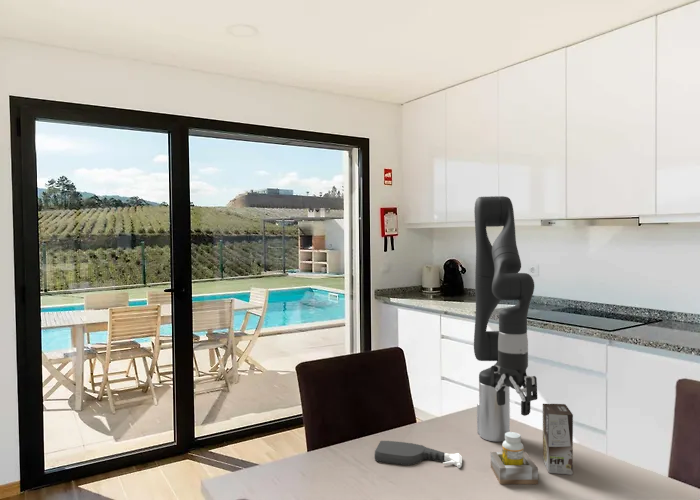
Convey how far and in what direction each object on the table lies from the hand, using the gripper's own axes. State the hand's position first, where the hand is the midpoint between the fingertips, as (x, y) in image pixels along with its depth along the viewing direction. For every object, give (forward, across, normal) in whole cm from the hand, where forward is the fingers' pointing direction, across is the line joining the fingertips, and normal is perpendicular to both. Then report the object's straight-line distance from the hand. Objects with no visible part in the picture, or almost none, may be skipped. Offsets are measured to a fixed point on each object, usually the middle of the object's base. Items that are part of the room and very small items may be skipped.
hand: (513, 409), depth 135 cm
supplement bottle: (+16, 0, 0) cm, 17 cm away
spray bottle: (+18, -21, -16) cm, 32 cm away
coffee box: (+18, +2, +14) cm, 23 cm away
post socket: (+18, 0, 0) cm, 18 cm away
